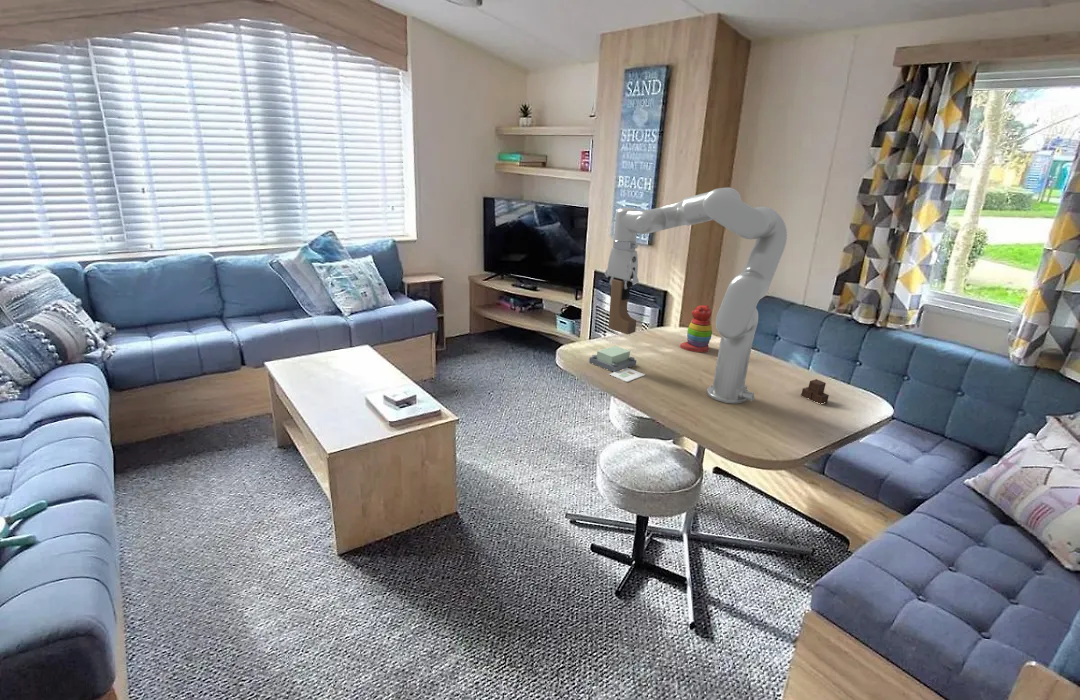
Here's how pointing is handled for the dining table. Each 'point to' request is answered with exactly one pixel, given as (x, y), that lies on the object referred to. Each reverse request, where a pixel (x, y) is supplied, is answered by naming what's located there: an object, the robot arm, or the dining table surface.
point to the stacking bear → (699, 330)
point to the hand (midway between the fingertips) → (619, 297)
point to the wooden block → (620, 310)
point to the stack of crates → (815, 391)
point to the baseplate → (614, 365)
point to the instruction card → (627, 374)
